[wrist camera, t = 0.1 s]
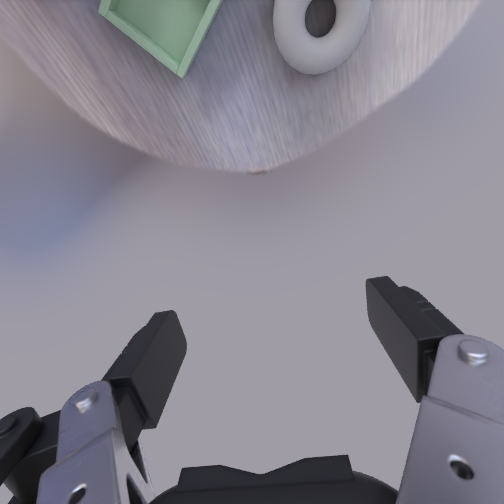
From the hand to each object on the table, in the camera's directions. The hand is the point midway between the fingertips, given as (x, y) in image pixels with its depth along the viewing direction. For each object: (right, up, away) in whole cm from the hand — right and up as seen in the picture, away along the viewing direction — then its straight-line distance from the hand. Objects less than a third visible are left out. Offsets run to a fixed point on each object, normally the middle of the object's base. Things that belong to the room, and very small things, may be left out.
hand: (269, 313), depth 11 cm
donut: (+6, +28, +17) cm, 34 cm away
